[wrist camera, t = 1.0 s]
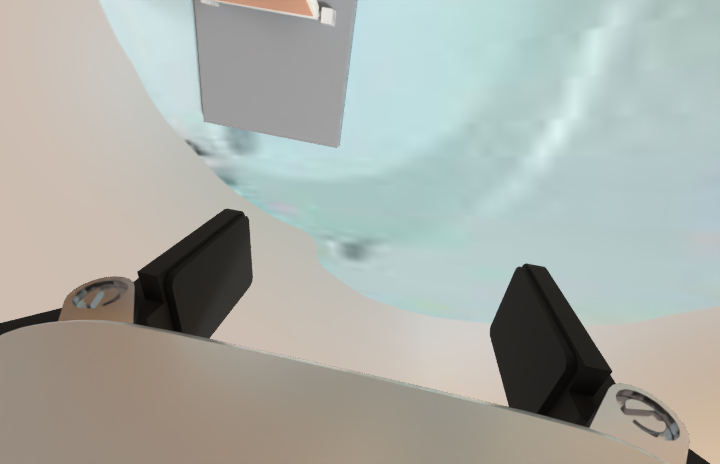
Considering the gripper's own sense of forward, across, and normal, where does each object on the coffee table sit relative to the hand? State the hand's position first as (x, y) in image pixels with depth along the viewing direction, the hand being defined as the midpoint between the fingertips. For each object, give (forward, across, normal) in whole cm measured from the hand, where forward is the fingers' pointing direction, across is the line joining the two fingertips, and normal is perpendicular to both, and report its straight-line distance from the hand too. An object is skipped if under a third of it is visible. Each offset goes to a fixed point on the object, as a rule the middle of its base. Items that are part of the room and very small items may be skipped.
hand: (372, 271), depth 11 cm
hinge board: (+27, +15, -10) cm, 32 cm away
